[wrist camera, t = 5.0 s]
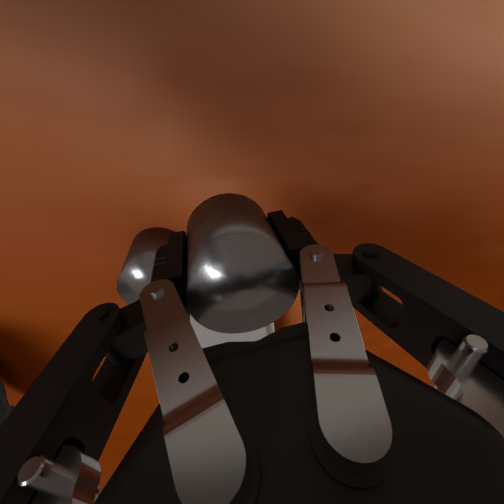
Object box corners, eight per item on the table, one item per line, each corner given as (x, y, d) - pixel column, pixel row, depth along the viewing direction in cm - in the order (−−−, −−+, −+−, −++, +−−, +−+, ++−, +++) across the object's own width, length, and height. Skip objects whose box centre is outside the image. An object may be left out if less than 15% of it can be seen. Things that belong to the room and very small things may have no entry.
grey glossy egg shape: (175, 203, 12) (169, 266, 8) (263, 185, 13) (298, 237, 9) (198, 271, 15) (202, 343, 11) (270, 254, 15) (299, 318, 11)
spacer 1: (123, 233, 20) (105, 270, 16) (177, 222, 21) (173, 256, 17) (142, 274, 23) (131, 315, 19) (190, 264, 23) (189, 302, 19)
